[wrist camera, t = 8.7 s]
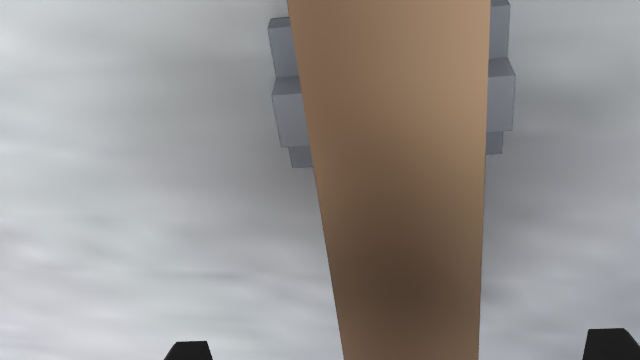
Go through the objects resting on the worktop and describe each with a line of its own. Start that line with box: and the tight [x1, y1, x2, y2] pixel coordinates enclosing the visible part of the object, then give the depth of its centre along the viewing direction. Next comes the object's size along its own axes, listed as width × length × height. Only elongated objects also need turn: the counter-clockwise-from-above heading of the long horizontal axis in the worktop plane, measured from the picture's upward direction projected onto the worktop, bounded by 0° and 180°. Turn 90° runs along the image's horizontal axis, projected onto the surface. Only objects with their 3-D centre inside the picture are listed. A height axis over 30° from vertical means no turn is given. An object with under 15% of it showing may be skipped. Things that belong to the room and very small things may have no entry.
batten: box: [287, 0, 491, 360], centre depth 16 cm, size 4×16×6 cm, turn 7°
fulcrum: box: [268, 0, 516, 168], centre depth 19 cm, size 7×5×2 cm
